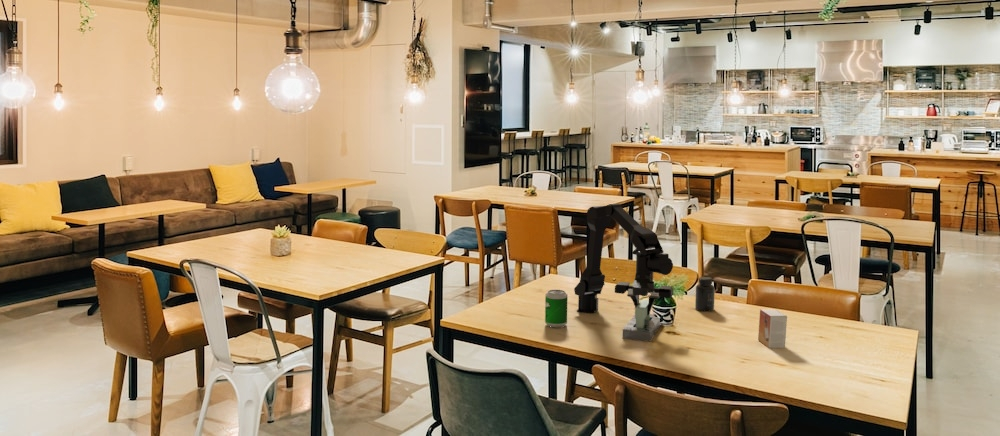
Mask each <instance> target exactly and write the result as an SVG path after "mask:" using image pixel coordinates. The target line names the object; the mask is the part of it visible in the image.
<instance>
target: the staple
mask: <svg viewBox="0 0 1000 436" xmlns="http://www.w3.org/2000/svg"><path fill="white" fill-rule="evenodd" d="M648 303H649V299H641V301H639V304H638V305H637V307H636V308H635V307H634V315H635V319H636V327H637V328H644V320H650V314H651V312H650V313H649V315H647V310H648Z"/></svg>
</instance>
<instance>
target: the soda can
mask: <svg viewBox="0 0 1000 436" xmlns="http://www.w3.org/2000/svg"><path fill="white" fill-rule="evenodd" d="M544 296H545V303H544V304H545V311H544V312H545V313H544V314H545V315H544V322H545V324H546V325H547V327H549V326H551V327H550V328H552V327H562V328H564V327H565V326H566V325H567V324H568V293H566V291H565V290H562V289H550V290H547V292H546V293H545V295H544ZM563 326H564V327H563Z"/></svg>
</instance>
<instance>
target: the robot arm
mask: <svg viewBox="0 0 1000 436" xmlns="http://www.w3.org/2000/svg"><path fill="white" fill-rule="evenodd" d="M611 219H613V220H614V221H615V222H616V223H617V224H618V225H619V226H620V227H621V228H622V230H624V231H625V232H626V233H627V234H628V236H629V238H630V242H631V243H632V245H633V247H634V250H633V251H632V252H631V253H632V255H635V261H636V262H635V278H634V279H633V283H632V285H631V283H630V282H626V281H618V282H617V284H616V285H615V286H614V293H615V294H623V295H624V294H625V293H626V292H627V294H626V295H627V297H629V298H630V299H631V301H632V303H633V306H634V309H635V308H636V307H637V305H638V304H639V303H640V296H641V297H647V296H648V294H649V297H648V300H649V303H648V310H647V315H649V313H650V314H651V311H652V308H653V306H654V303H655V301H656V300H658V299H659V298H665V299H671V298H672V297H673V295H674V287H673V286H670V285H661V286H660V287H655V285H656V284H655V281H654V273H657V274H660V275H662V276H667V275H669V274H670V273H671V272H672V271H673V267H674V263H673V260H672V259H671V258H670V257H669V253H664V250H663V247H662V245H661V243H660V240H659V238H658V235H657V234H656V233H655V231H653V230H651V229H650V228H648V227H645V226H642V225H641V224H640V223H639V222H638V221H636V219H634V217H632V216H631V215H630V213H628V211H626V210H625V209H624V208H623V206H622V204H620V203H608V204H606V205H596V206H594V205H593V206H590V207H589V208H588V209H587V210H586V223H587V225H588V227H589V229H590V230H589V231H590V232H589V239H588V240H589V241H588V249H587V250H588V251H587V258H586V259H587V260H586V267H585V269H583V272H581V276H580V279H579V282H578V283H577V285H575V287H574V289H573V290H574V295H576V296H578V302H577V303H578V306H577V307H578V308H577V309H576V312H580V313H590V314H595V312H598V310H599V298H598V295H601V294H602V291H603V287H604V286H605V284H606V283H605V279H606V275H605V274H603V271H602V270H601V263H602V253H603V246H604V236H605V231H606V230H607V228H608V227H609V225H610V222H611Z"/></svg>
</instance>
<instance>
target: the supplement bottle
mask: <svg viewBox="0 0 1000 436" xmlns="http://www.w3.org/2000/svg"><path fill="white" fill-rule="evenodd" d="M715 290H716V289H715V286H714V285H713V278H712V277H711V276H710V277H709V276H700V277H699V278H698V284H697V285H696V286H695V299H694V301H695V305H694V307H695V310H696V311H699V312H713V311H714V310H715V294H716V293H715Z"/></svg>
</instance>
